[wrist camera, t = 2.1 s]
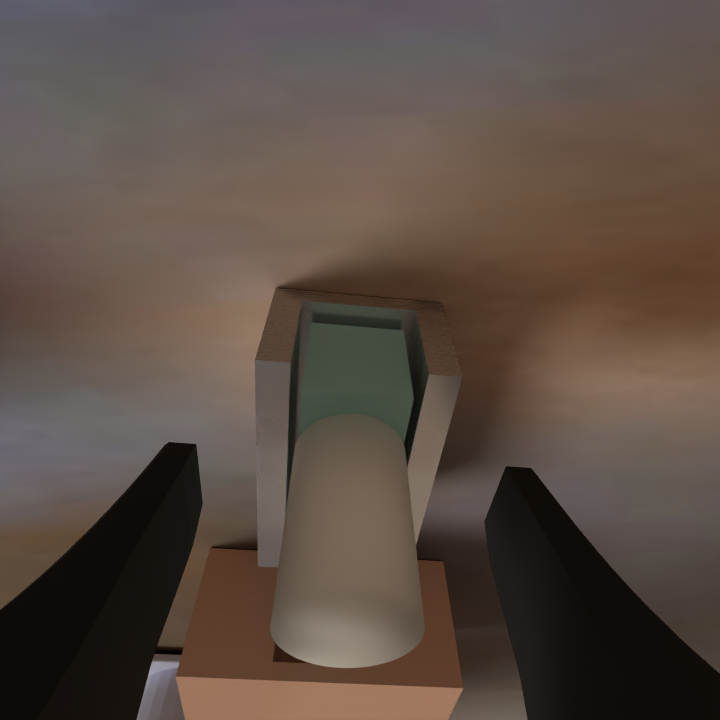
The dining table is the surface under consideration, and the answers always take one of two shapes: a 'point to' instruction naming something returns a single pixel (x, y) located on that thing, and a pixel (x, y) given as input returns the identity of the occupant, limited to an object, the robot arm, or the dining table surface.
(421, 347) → the grey u-channel
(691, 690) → the robot arm
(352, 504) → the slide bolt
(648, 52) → the dining table surface
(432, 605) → the socket block
